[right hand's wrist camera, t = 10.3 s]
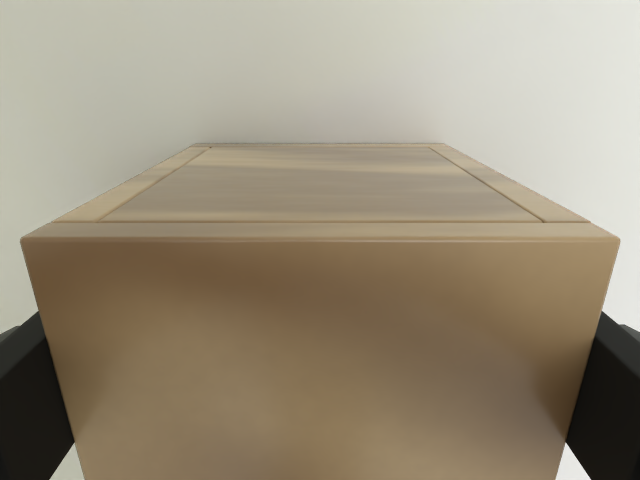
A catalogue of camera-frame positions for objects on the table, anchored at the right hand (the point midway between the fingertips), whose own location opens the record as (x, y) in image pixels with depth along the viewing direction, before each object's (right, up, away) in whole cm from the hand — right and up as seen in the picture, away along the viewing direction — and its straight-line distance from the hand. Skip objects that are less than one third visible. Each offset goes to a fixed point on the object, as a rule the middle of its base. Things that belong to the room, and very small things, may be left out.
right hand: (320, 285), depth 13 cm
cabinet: (0, -2, +8) cm, 8 cm away
